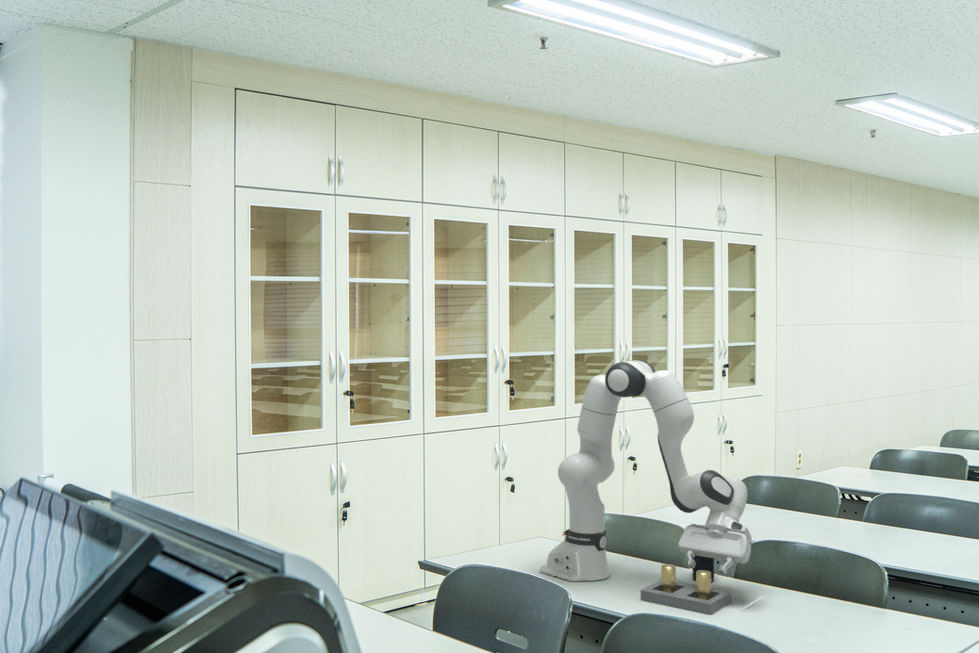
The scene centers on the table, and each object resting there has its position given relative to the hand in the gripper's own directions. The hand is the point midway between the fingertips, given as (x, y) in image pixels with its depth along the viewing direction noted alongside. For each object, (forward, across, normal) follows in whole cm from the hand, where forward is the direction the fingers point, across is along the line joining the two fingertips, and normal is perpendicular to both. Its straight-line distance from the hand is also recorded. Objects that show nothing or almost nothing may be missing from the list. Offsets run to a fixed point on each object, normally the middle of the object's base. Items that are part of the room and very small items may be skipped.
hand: (706, 569), depth 242 cm
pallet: (+9, -5, +5) cm, 11 cm away
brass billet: (+8, 0, +5) cm, 10 cm away
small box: (-11, -13, +26) cm, 30 cm away
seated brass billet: (+8, -10, +5) cm, 14 cm away
